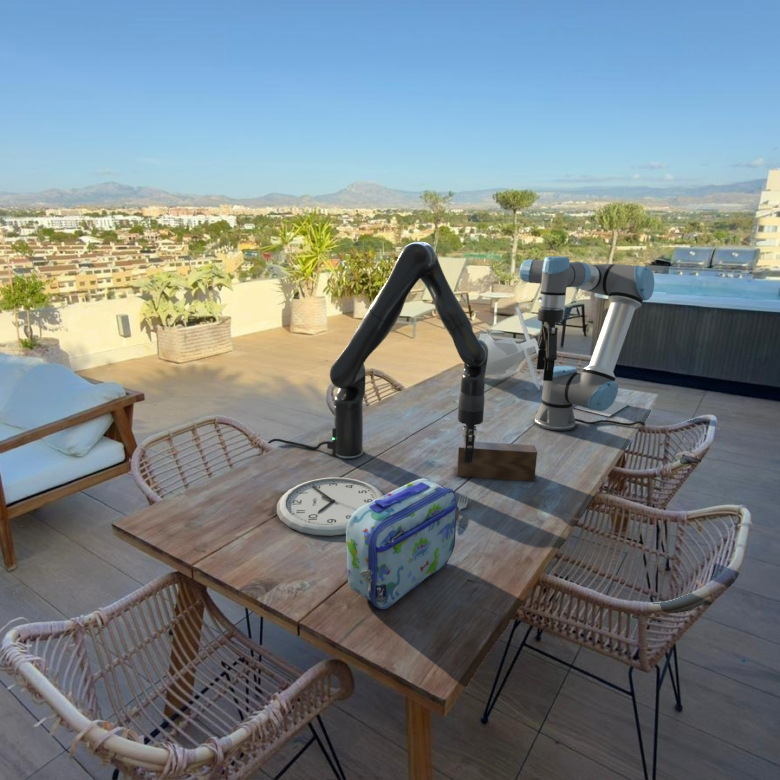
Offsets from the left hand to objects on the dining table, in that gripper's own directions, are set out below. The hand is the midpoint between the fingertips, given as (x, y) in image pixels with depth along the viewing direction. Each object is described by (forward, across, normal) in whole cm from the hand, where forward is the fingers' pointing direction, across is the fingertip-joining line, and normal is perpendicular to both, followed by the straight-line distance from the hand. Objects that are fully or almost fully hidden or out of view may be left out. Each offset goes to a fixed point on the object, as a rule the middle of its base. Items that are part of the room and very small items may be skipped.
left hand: (467, 457), depth 162 cm
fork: (+5, +26, -3) cm, 26 cm away
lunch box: (+5, +55, -15) cm, 57 cm away
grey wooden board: (+5, -73, +59) cm, 94 cm away
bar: (+5, 0, +9) cm, 10 cm away
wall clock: (+5, +26, -37) cm, 45 cm away
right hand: (-23, -16, +23) cm, 37 cm away
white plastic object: (+5, -101, +20) cm, 103 cm away
